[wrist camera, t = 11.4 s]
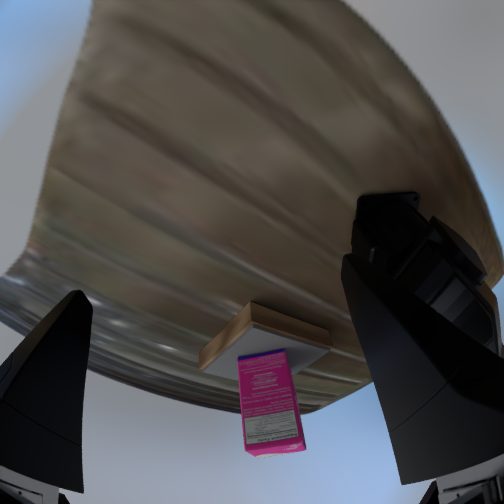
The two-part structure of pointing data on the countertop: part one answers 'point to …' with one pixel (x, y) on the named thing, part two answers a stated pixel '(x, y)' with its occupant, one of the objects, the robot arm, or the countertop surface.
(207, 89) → the countertop surface
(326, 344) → the walnut base
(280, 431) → the supplement box
